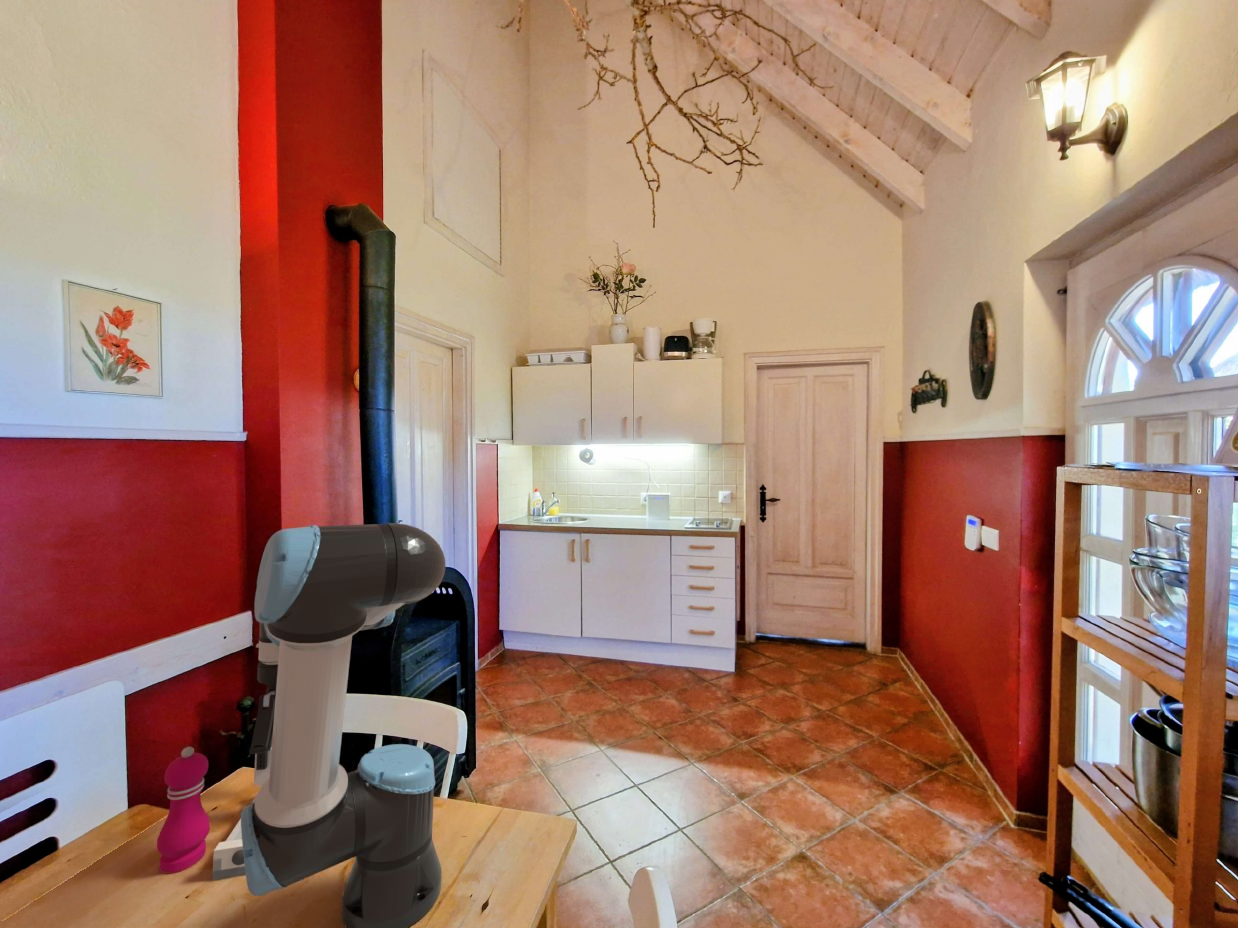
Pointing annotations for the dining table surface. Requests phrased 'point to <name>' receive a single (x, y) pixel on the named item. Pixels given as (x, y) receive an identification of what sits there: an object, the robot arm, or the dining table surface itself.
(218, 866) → the rail track
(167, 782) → the pepper mill
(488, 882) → the dining table surface
